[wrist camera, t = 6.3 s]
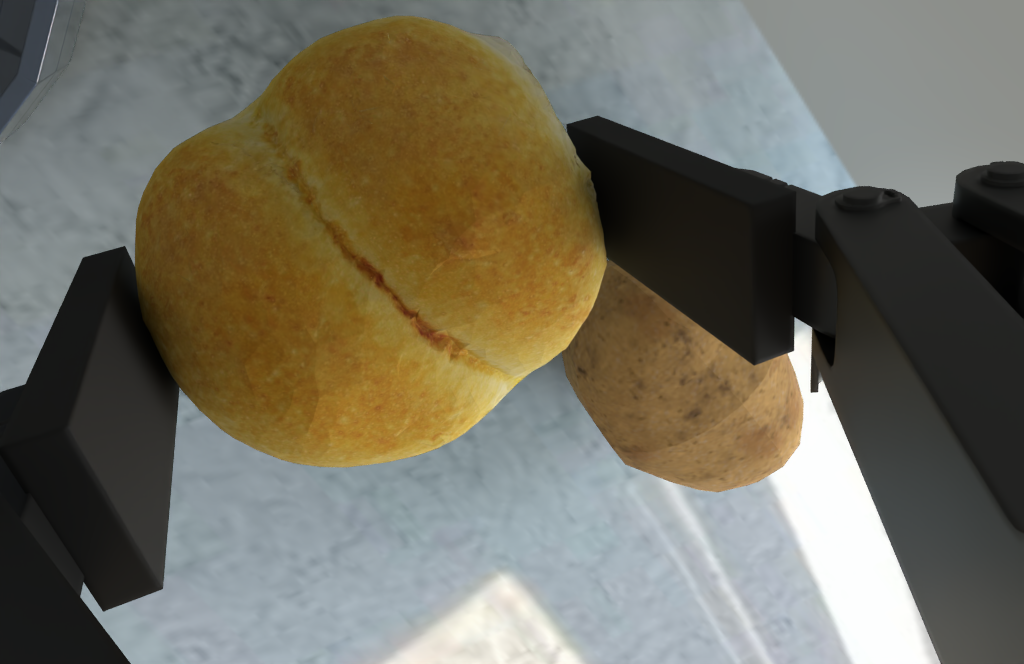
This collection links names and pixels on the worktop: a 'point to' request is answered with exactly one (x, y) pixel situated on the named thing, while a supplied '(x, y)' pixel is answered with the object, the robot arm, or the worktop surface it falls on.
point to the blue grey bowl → (33, 54)
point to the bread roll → (370, 246)
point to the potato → (680, 392)
